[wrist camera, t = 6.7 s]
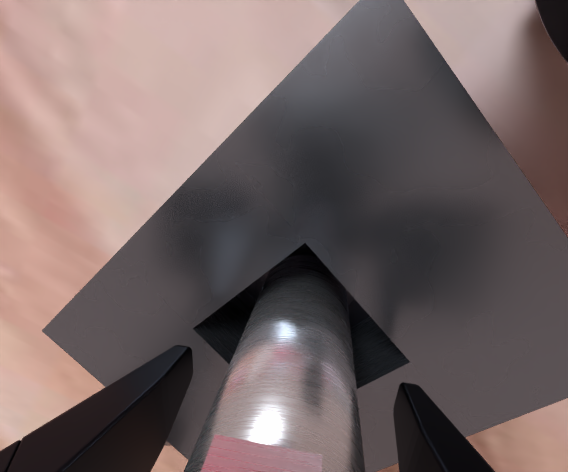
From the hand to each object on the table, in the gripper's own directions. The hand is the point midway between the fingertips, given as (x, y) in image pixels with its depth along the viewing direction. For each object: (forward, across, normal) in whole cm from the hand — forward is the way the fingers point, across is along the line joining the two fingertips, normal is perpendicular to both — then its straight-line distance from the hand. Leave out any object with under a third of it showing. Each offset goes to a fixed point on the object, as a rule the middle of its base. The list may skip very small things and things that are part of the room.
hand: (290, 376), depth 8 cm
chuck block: (+6, +2, +2) cm, 7 cm away
